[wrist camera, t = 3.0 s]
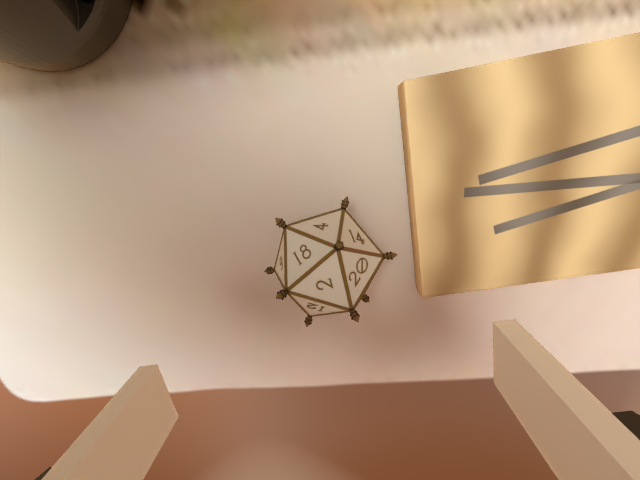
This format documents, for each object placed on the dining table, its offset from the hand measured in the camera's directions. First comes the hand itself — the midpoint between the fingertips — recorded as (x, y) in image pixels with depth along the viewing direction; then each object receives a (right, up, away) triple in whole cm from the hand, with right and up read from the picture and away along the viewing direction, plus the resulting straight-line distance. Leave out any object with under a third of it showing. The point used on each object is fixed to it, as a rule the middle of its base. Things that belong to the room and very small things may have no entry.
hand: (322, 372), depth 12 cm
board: (+16, +10, +11) cm, 22 cm away
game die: (+1, +5, +14) cm, 15 cm away
